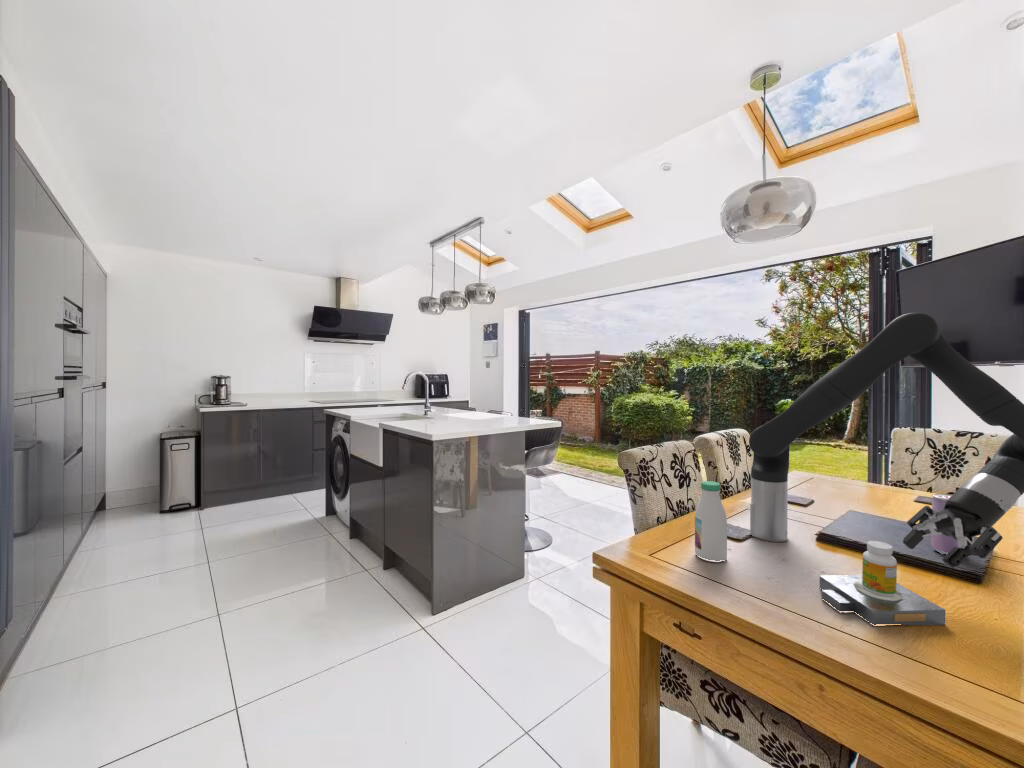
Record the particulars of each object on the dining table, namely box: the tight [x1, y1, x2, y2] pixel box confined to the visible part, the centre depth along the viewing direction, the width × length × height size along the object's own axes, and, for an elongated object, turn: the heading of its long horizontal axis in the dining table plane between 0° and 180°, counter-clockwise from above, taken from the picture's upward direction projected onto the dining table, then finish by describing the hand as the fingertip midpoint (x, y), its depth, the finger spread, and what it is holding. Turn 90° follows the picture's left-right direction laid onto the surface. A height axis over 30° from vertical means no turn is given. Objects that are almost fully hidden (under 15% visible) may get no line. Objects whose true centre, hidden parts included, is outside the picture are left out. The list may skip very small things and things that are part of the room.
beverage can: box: [930, 493, 958, 553], centre depth 112 cm, size 6×6×15 cm
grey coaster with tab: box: [819, 574, 946, 626], centre depth 88 cm, size 17×14×3 cm
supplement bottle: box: [861, 540, 898, 596], centre depth 88 cm, size 5×5×10 cm
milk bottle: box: [694, 480, 728, 561], centre depth 111 cm, size 8×8×20 cm
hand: (926, 554), depth 88 cm, fingers open, 8 cm apart
